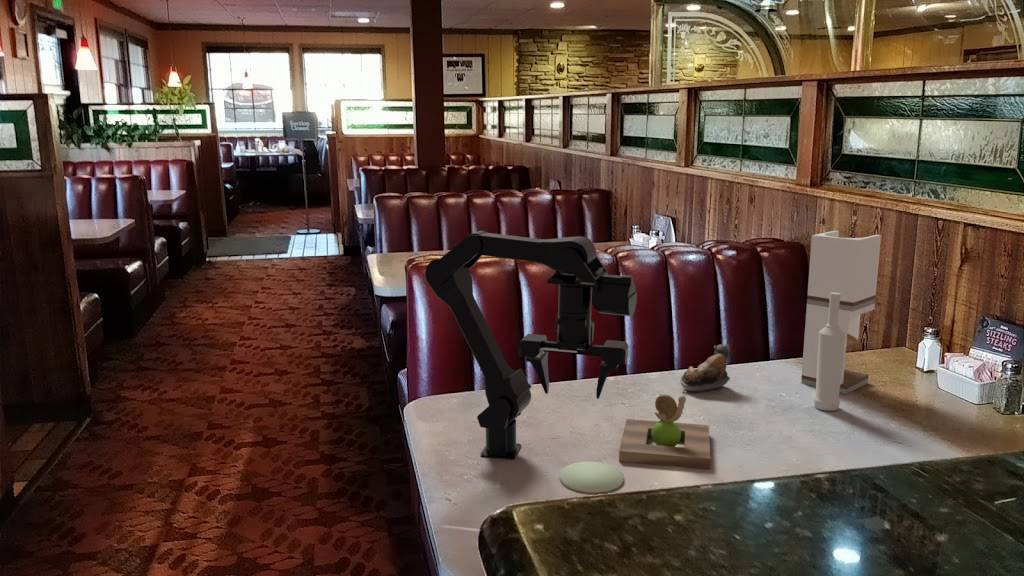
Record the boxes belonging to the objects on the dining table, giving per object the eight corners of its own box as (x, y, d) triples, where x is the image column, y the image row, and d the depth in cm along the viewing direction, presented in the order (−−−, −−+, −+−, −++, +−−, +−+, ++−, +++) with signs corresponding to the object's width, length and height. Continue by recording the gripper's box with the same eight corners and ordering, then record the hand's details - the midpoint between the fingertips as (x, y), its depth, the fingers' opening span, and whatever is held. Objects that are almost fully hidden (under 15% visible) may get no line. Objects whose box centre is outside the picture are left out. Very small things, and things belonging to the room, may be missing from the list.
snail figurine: (676, 457, 143) (679, 394, 141) (645, 448, 147) (647, 387, 145) (690, 447, 147) (692, 387, 145) (659, 439, 151) (661, 380, 149)
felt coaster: (620, 495, 128) (620, 492, 128) (554, 489, 131) (554, 486, 131) (626, 467, 139) (626, 464, 139) (564, 462, 141) (564, 459, 141)
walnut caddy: (709, 469, 138) (710, 458, 138) (618, 461, 142) (619, 450, 141) (708, 434, 153) (708, 425, 153) (626, 428, 157) (626, 418, 156)
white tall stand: (845, 394, 176) (858, 240, 168) (801, 383, 183) (811, 235, 176) (867, 383, 183) (881, 234, 176) (824, 372, 191) (835, 230, 184)
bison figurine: (690, 397, 175) (692, 353, 173) (673, 387, 181) (674, 345, 179) (735, 390, 179) (737, 347, 177) (716, 381, 185) (718, 340, 183)
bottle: (835, 403, 170) (844, 290, 165) (842, 411, 165) (852, 296, 160) (810, 402, 171) (818, 290, 166) (817, 410, 166) (826, 295, 160)
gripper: (633, 303, 141) (630, 385, 144) (532, 296, 145) (531, 376, 149) (626, 318, 130) (622, 406, 133) (518, 310, 135) (517, 396, 138)
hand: (572, 395), depth 139 cm, fingers open, 9 cm apart
